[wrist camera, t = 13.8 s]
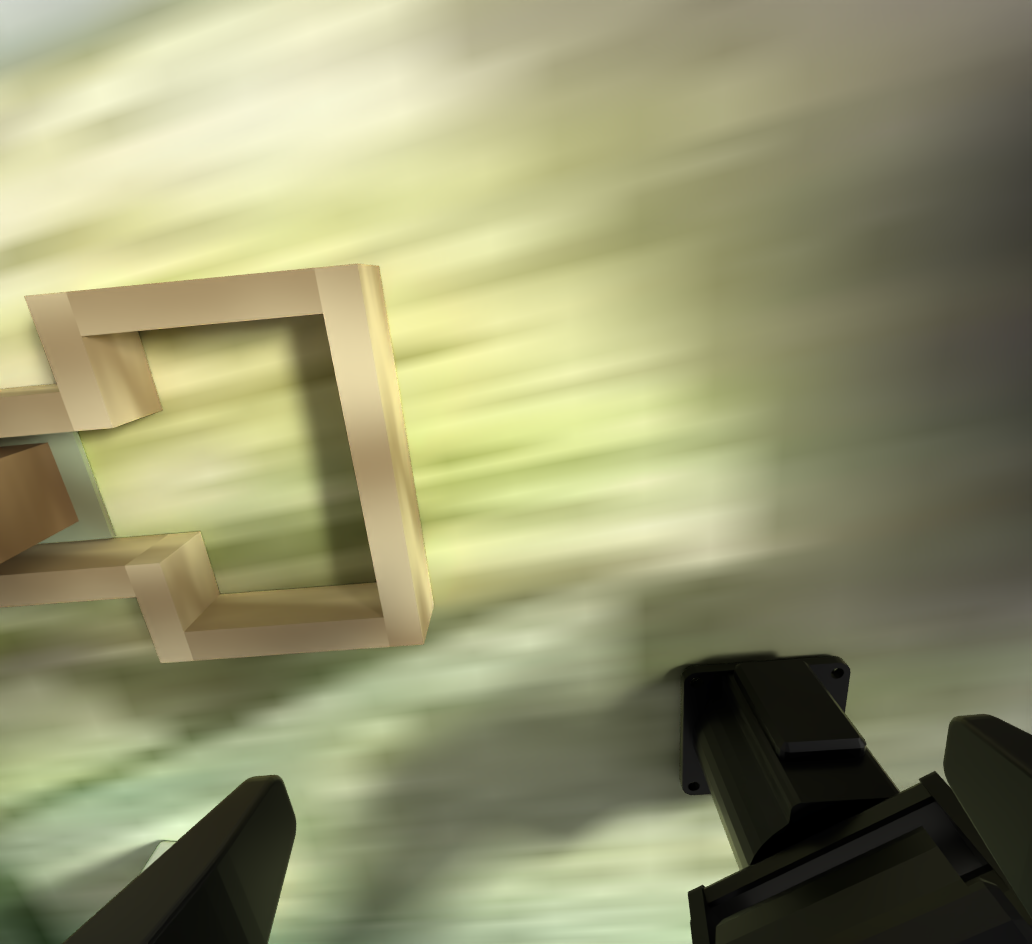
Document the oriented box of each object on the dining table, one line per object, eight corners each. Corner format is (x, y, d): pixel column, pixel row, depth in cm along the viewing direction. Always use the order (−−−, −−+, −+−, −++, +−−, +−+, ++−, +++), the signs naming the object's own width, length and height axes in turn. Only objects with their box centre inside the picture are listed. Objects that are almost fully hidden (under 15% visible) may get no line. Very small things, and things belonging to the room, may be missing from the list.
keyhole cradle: (434, 605, 21) (423, 644, 19) (-1, 637, 22) (-62, 678, 19) (379, 265, 17) (357, 263, 15) (-156, 317, 18) (-255, 323, 15)
